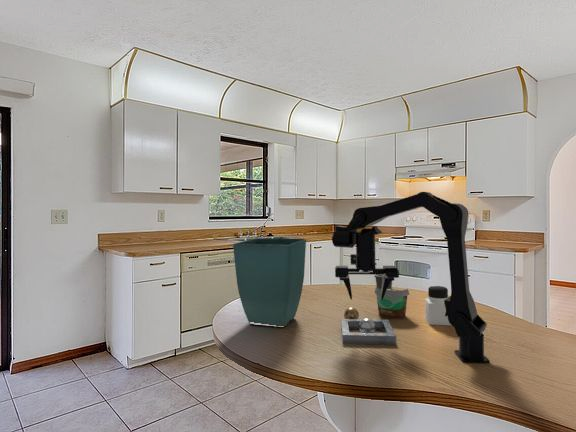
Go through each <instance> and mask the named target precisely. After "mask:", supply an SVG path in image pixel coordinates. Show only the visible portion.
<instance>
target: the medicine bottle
mask: <svg viewBox="0 0 576 432" xmlns="http://www.w3.org/2000/svg"><path fill="white" fill-rule="evenodd" d="M427 295H428V298H425V300H424V303H425V304H424V305H425V307H424V309H425V311H424V312H425V313H424V314H425V318H424V319H425V320H426V321H427V324H428V325H430V326H446V327H447V326H449V327H450V326H452V325H451V324H450V323H449V321H448V316H445V313H446V308H445V304H444V300H446V299H447V298H448V297H449V289H448V288H447V287H446V286H443V285H431V286H429V287H428V294H427ZM452 327H453V326H452Z"/></svg>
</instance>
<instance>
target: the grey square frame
mask: <svg viewBox="0 0 576 432" xmlns="http://www.w3.org/2000/svg"><path fill="white" fill-rule="evenodd" d="M363 319H364V318H362V319H361V318H358V319H345V318H341V323H340V324H341V325H340V326H341V338H342V339H341V340H342V344H343V345H344V344H345V345H346V344H348V345H349V344H350V345H352V344H353V345H355V344H356V345H382V346H383V345H385V346H386V345H388V346H389V345H390V346H396V345H397V336H396V333H395V331H394V329H393V327H392V325H391V323H390V321H389V319H373V318H372V319H371V318H370V319H371V320H372V321H373V322H374V323H375V330H382V332H383V333H382V332H381V333H380V332H379V333H377V332H374V333H361V332H350V329H352V330H353V329H354V330H355V329H356V330H357V329H358V330H359V323H360V321H361V320H363Z"/></svg>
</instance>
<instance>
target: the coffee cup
mask: <svg viewBox="0 0 576 432" xmlns="http://www.w3.org/2000/svg"><path fill="white" fill-rule="evenodd" d="M374 278H375V284H376V287H377V288H378V289H381V286H382V275H375V274H374ZM392 287H393V281H391V282H390V284H389V286H388V288H387V289H393V288H392Z"/></svg>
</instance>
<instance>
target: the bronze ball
mask: <svg viewBox="0 0 576 432" xmlns="http://www.w3.org/2000/svg"><path fill="white" fill-rule="evenodd" d="M359 316H360V313H359V311H358V310H357V308H354V307H348V308H346V309H345V310H344V312H343V319H359Z"/></svg>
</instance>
